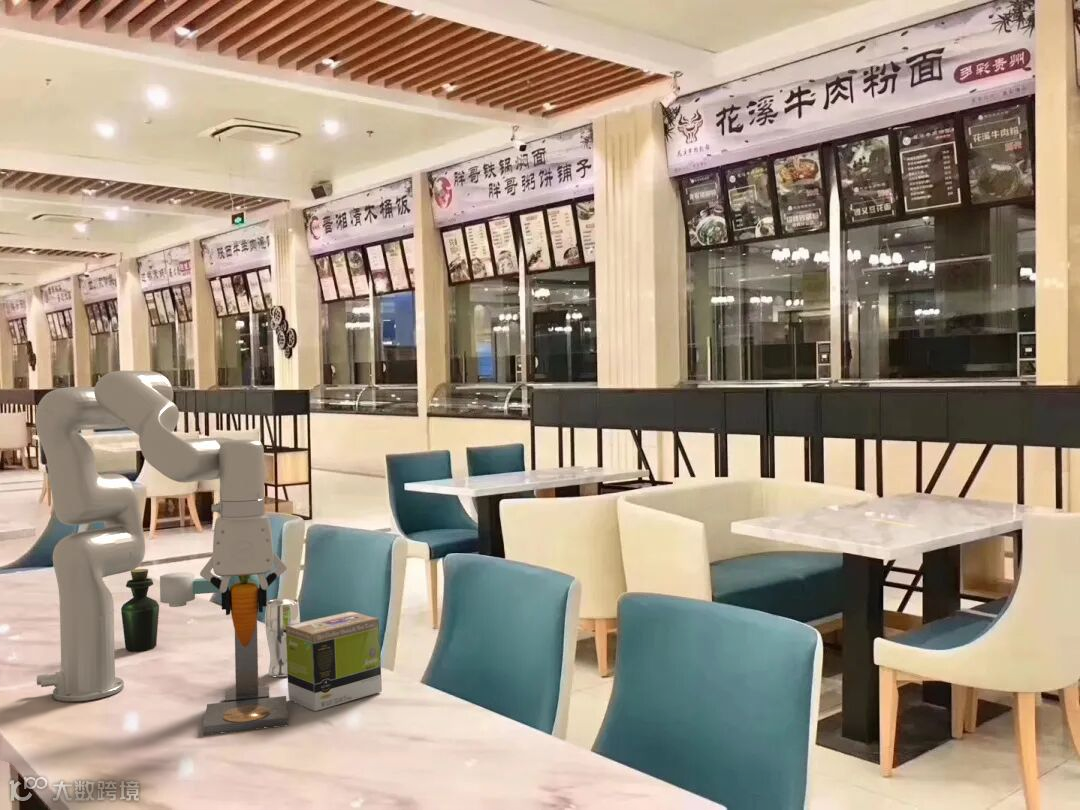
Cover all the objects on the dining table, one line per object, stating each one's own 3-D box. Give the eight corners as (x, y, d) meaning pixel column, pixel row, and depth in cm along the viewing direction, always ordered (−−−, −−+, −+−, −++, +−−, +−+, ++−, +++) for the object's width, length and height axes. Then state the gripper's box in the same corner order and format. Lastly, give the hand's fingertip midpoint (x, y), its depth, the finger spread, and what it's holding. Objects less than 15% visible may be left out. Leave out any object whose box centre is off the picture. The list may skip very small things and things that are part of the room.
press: (203, 735, 159) (201, 618, 159) (209, 700, 177) (207, 595, 177) (288, 725, 163) (286, 611, 163) (285, 692, 182) (283, 589, 181)
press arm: (259, 595, 180) (258, 558, 180) (259, 602, 174) (258, 563, 174) (162, 602, 175) (161, 564, 175) (158, 609, 169) (158, 570, 169)
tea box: (353, 682, 187) (352, 609, 187) (382, 693, 180) (381, 617, 180) (286, 700, 177) (284, 623, 177) (314, 713, 170) (312, 632, 169)
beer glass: (291, 679, 190) (290, 606, 190) (259, 677, 191) (258, 604, 191) (306, 669, 197) (305, 598, 196) (276, 667, 198) (274, 597, 198)
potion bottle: (128, 655, 209) (126, 575, 209) (116, 648, 215) (115, 570, 215) (165, 648, 214) (163, 570, 214) (153, 641, 220) (151, 565, 220)
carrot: (234, 643, 167) (232, 560, 167) (262, 642, 168) (261, 559, 167) (227, 651, 162) (225, 565, 162) (256, 650, 163) (254, 564, 162)
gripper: (189, 514, 158) (191, 621, 159) (293, 509, 163) (294, 613, 164) (192, 509, 166) (194, 611, 166) (291, 504, 171) (293, 603, 171)
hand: (244, 611), depth 165 cm, fingers closed on carrot, 4 cm apart
